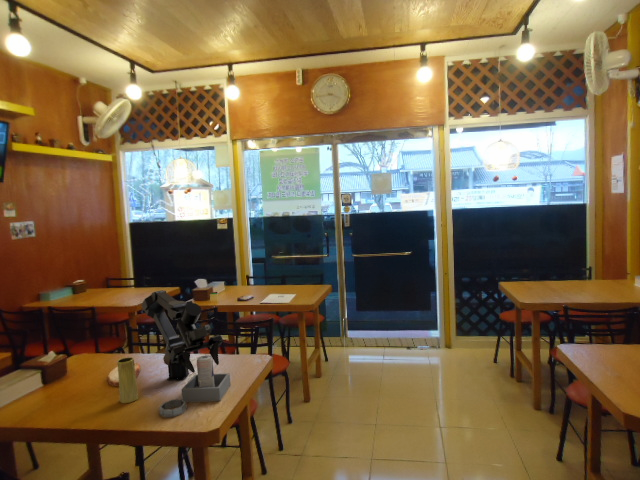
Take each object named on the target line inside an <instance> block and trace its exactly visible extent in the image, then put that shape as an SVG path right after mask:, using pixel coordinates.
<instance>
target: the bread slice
mask: <svg viewBox="0 0 640 480" xmlns="http://www.w3.org/2000/svg"><path fill="white" fill-rule="evenodd" d="M134 366H135V374H136V379H137V378H138V377H139V374H140V373H141V365H140V363H139V362H134ZM107 380H108V381H107V383H108V382H109V383H108V384H109V385H110V386H111V385H113V386H112V387H114V386H119V375H118V365H117V366H115V367H114V368H113V369H112V370H110V372H109V373H108V375H107Z"/></svg>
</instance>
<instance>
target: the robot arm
mask: <svg viewBox="0 0 640 480" xmlns="http://www.w3.org/2000/svg"><path fill="white" fill-rule="evenodd" d="M141 307H142V311H143V312H144V313H145V314H146V315H147V317H149V318H152V319H153V320H154V322H155V324H156V326H157V328H158V330H159V333H161V336H162V338H163V339H164V341H165V343H166V347H165V353H164V355H163V358H162V359H163V363H164V365H166V366H167V367H168V369H167V370H168V378H167V381H183V380H185V378H186V377H188V375H190V372H191V373H193V374H195V372H196V370H195V367H194V365H193V363H192V361H191V353H193V352H196V351H200V350H203V349H206V348H207V349H208V350H209V354H210V355H209V356H211V357H212V360H213V362H214V363H215V364H216V365H217V366H218V365H219V364H220V362H219V348H220V347H221V346H222V343H223V342H224V339H223V337H222V336H221V335H220V334H216V335H213V336H211V337H210V338H209V339H208V341H206V342H204V341H205V340H206V337H208V336H209V335H210V334H211V333H212V332H213V331H212V328H211V326H210V324H205V325H203V326H202V327H201V328H199V327H198V328H197V326H196V325H195V324H196V323H197V322H198V320H199V318H200V315H201V313H202V307H201V306H200V305H199V304H197V303H195V302H193V300H188V301H184V300H177V299H175V298H174V297H173V296H171V295H170V294H168V293H167V290H164V289H163V290H155V291H153V292H152V293H151V294H150V295H148V296H147V297H145V298H144V300H143V301H142V303H141ZM165 310H167V314H166V312H165ZM168 317H169V318H170V319H171V320H172V321H176V320H178V321H177V324H176V331H179V333H180V335H181V336H178V334H177V333H176V331H175V329H174V327H173V325H172V324H171V322H170V319H169V318H168ZM189 371H190V372H189Z"/></svg>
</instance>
